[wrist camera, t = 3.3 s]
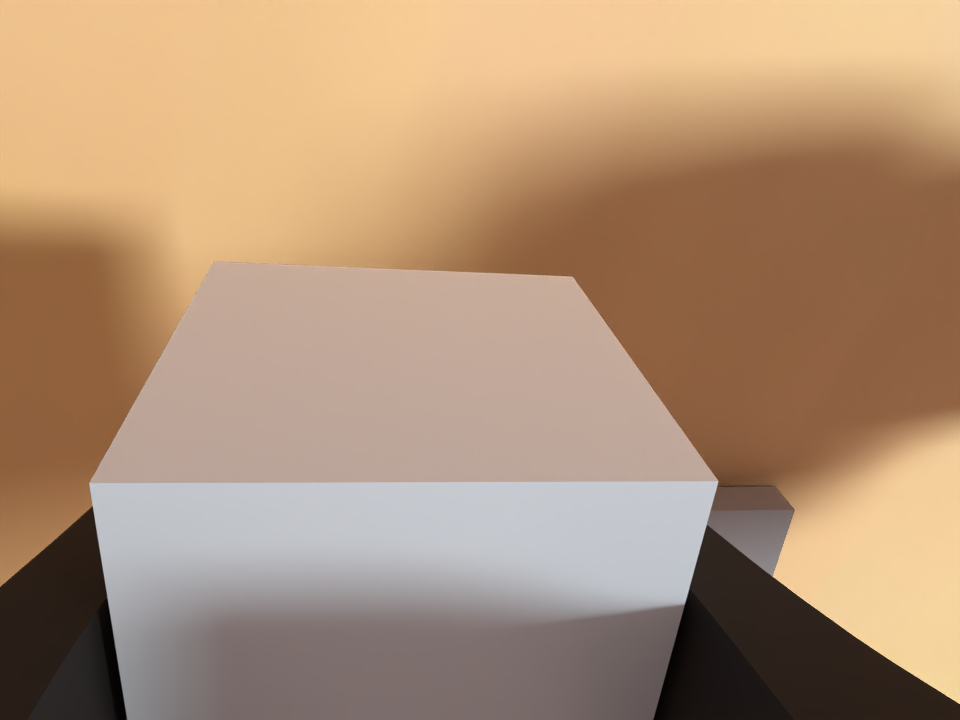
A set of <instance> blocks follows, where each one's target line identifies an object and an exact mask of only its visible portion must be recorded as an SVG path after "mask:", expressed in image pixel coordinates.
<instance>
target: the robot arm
mask: <svg viewBox="0 0 960 720" xmlns="http://www.w3.org/2000/svg"><path fill="white" fill-rule="evenodd" d="M0 720H127V715H126V709H125V703H124V697H123V691H122V684H121V678H120V672H119V666H118V659H117V653H116V647H115V641H114V635H113V628H112V622H111V616H110V610H109V604H108V597H107V591H106V585H105V579H104V573H103V566H102V560H101V554H100V548H99V542H98V535H97V529H96V523H95V517H94V511H93V506H92V507H91V508H90V509H89V510H88V511H87V512H86V513H85V514H84V515H82V516H81V517H80V518H79V519H78V520H77V521H76V522H75V523H73V524H72V525H71V526H70V527H69V528H68V529H67V530H66V531H64V532H63V533H62V534H61V535H60V536H59V537H58V538H57V539H55V540H54V541H53V542H52V543H51V544H50V545H49V546H47V547H46V548H45V549H44V550H43V551H42V552H40V553H39V554H38V555H37V556H36V557H35V558H33V559H32V560H31V561H30V562H29V563H28V564H26V565H25V566H24V567H23V568H22V569H21V570H19V571H18V572H17V573H16V574H15V575H14V576H12V577H11V578H10V579H9V580H8V581H7V582H5V583H4V584H3V585H2V586H1V587H0ZM653 720H960V704H958V703H957V702H955V701H954V700H952V699H950V698H949V697H947V696H946V695H944V694H942V693H941V692H939V691H938V690H936V689H935V688H933V687H931V686H930V685H928V684H927V683H925V682H923V681H922V680H920V679H919V678H917V677H915V676H914V675H912V674H911V673H909V672H907V671H906V670H904V669H903V668H901V667H900V666H898V665H896V664H895V663H893V662H892V661H890V660H888V659H887V658H885V657H884V656H883V655H881V654H880V653H878V652H877V651H875V650H874V649H872V648H871V647H869V646H868V645H866V644H865V643H863V642H862V641H860V640H859V639H857V638H856V637H854V636H853V635H851V634H850V633H849V632H847V631H846V630H845V629H843V628H842V627H840V626H839V625H838V624H836V623H835V622H833V621H832V620H831V619H829V618H828V617H826V616H825V615H824V614H822V613H821V612H819V611H818V610H817V609H815V608H814V607H812V606H811V605H810V604H808V603H807V602H806V601H804V600H803V599H801V598H800V597H799V596H797V595H796V594H795V593H793V592H792V591H791V590H789V589H788V588H787V587H785V586H784V585H783V584H781V583H780V582H779V581H777V580H776V579H775V578H774V577H772V576H771V575H770V574H768V573H767V572H766V571H764V570H763V569H762V568H761V567H759V566H758V565H757V564H755V563H754V562H753V561H752V560H750V559H749V558H748V557H747V556H745V555H744V554H743V553H742V552H740V551H739V550H738V549H737V548H735V547H734V546H733V545H732V544H730V543H729V542H728V541H727V540H725V539H724V538H723V537H722V536H720V535H719V534H718V533H717V532H716V531H714V530H713V529H712V528H711V527H709V526H708V525H706V529H705V533H704V536H703V540H702V544H701V547H700V551H699V555H698V558H697V562H696V565H695V569H694V573H693V576H692V580H691V584H690V587H689V591H688V595H687V598H686V602H685V606H684V609H683V613H682V617H681V620H680V624H679V628H678V631H677V635H676V638H675V642H674V646H673V649H672V653H671V657H670V660H669V664H668V668H667V671H666V675H665V679H664V682H663V686H662V690H661V693H660V697H659V701H658V704H657V708H656V711H655V715H654V719H653Z"/></svg>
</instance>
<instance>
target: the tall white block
mask: <svg viewBox="0 0 960 720" xmlns="http://www.w3.org/2000/svg"><path fill="white" fill-rule="evenodd" d="M718 482H719V481H718V480H717V479H716V477H715V476H714V474H713V473H712V471H711V470H710V469H709V467H708V466H707V464H706V463H705V462H704V460H703V459H702V457H701V456H700V455H699V453H698V452H697V450H696V449H695V448H694V446H693V445H692V443H691V442H690V441H689V439H688V438H687V436H686V435H685V434H684V432H683V431H682V429H681V428H680V427H679V425H678V424H677V422H676V421H675V420H674V418H673V417H672V415H671V414H670V413H669V411H668V410H667V408H666V407H665V405H664V404H663V403H662V401H661V400H660V398H659V397H658V396H657V394H656V393H655V391H654V390H653V389H652V387H651V386H650V384H649V383H648V382H647V380H646V379H645V377H644V376H643V375H642V373H641V372H640V370H639V369H638V368H637V366H636V365H635V363H634V362H633V361H632V359H631V358H630V356H629V355H628V354H627V352H626V351H625V349H624V348H623V346H622V345H621V344H620V342H619V341H618V339H617V338H616V337H615V335H614V334H613V332H612V331H611V330H610V328H609V327H608V325H607V324H606V323H605V321H604V320H603V318H602V317H601V316H600V314H599V313H598V311H597V310H596V309H595V307H594V306H593V304H592V303H591V302H590V300H589V299H588V297H587V296H586V295H585V293H584V292H583V290H582V289H581V287H580V286H579V285H578V283H577V282H576V280H575V279H574V278H573V276H551V275H527V274H503V273H480V272H456V271H432V270H408V269H385V268H361V267H337V266H313V265H290V264H266V263H242V262H218V261H214V262H213V264H212V265H211V267H210V269H209V271H208V273H207V274H206V276H205V278H204V280H203V281H202V283H201V285H200V287H199V289H198V290H197V292H196V294H195V296H194V297H193V299H192V301H191V303H190V305H189V306H188V308H187V310H186V312H185V313H184V315H183V317H182V319H181V321H180V322H179V324H178V326H177V328H176V329H175V331H174V333H173V335H172V337H171V338H170V340H169V342H168V344H167V345H166V347H165V349H164V351H163V353H162V354H161V356H160V358H159V360H158V361H157V363H156V365H155V367H154V369H153V370H152V372H151V374H150V376H149V377H148V379H147V381H146V383H145V385H144V386H143V388H142V390H141V392H140V393H139V395H138V397H137V399H136V401H135V402H134V404H133V406H132V408H131V409H130V411H129V413H128V415H127V417H126V418H125V420H124V422H123V424H122V425H121V427H120V429H119V431H118V433H117V434H116V436H115V438H114V440H113V442H112V443H111V445H110V447H109V449H108V450H107V452H106V454H105V456H104V458H103V459H102V461H101V463H100V465H99V466H98V468H97V470H96V472H95V474H94V475H93V477H92V479H91V481H90V482H89V486H90V492H91V498H92V504H93V511H94V517H95V523H96V529H97V535H98V542H99V548H100V554H101V560H102V566H103V573H104V579H105V585H106V591H107V597H108V604H109V610H110V616H111V622H112V628H113V635H114V641H115V647H116V653H117V659H118V666H119V672H120V678H121V684H122V691H123V697H124V703H125V709H126V715H127V720H653V719H654V715H655V711H656V708H657V704H658V701H659V697H660V693H661V690H662V686H663V682H664V679H665V675H666V671H667V668H668V664H669V660H670V657H671V653H672V649H673V646H674V642H675V638H676V635H677V631H678V628H679V624H680V620H681V617H682V613H683V609H684V606H685V602H686V598H687V595H688V591H689V587H690V584H691V580H692V576H693V573H694V569H695V565H696V562H697V558H698V555H699V551H700V547H701V544H702V540H703V536H704V533H705V529H706V525H707V522H708V518H709V514H710V511H711V507H712V503H713V500H714V496H715V492H716V489H717V485H718Z"/></svg>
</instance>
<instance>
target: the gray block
mask: <svg viewBox="0 0 960 720" xmlns="http://www.w3.org/2000/svg"><path fill="white" fill-rule="evenodd" d="M793 513H794V508H793V507H792V506H791V505H790V503H789V502H788V501H787V500H786V499H785V497H784V496H783V495H782V494H781V493H780V491H779V490H778V489H777V488H776V486H757V487H717V489H716V492H715V496H714V500H713V503H712V507H711V511H710V514H709V518H708V522H707V525H708V526H709V527H711V528H712V529H713V530H714V531H716V532H717V533H718V534H719V535H720V536H722V537H723V538H724V539H725V540H727V541H728V542H729V543H730V544H732V545H733V546H734V547H735V548H737V549H738V550H739V551H740V552H742V553H743V554H744V555H745V556H747V557H748V558H749V559H750V560H752V561H753V562H754V563H755V564H757V565H758V566H759V567H761V568H762V569H763V570H764V571H766V572H767V573H768V574H770V575H771V576H773V573H774V570H775V567H776V564H777V561H778V558H779V555H780V552H781V549H782V546H783V543H784V540H785V537H786V534H787V531H788V528H789V525H790V522H791V519H792V516H793Z"/></svg>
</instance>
